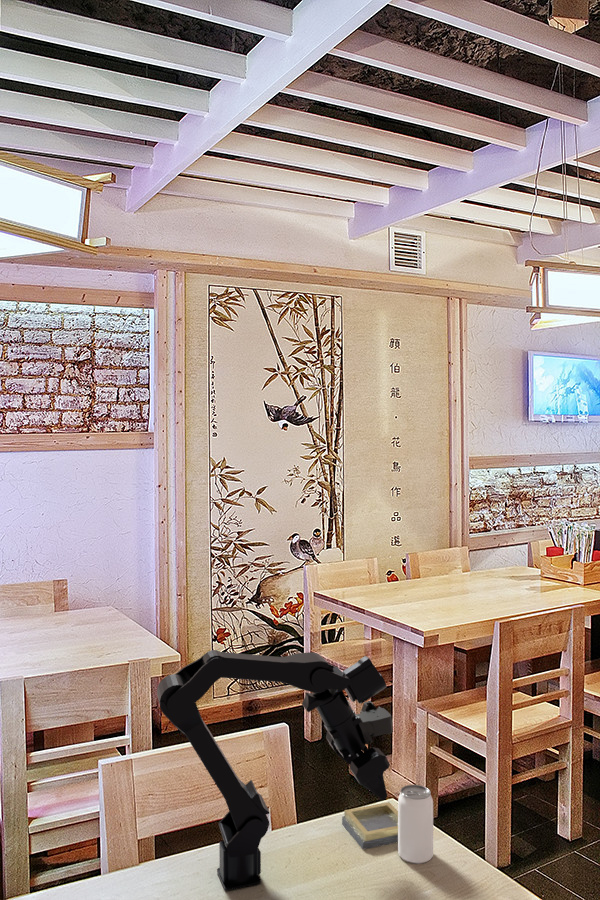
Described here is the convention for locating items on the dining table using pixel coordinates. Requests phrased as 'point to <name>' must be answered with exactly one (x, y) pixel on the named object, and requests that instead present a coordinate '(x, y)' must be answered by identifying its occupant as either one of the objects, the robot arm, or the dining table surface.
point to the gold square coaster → (372, 825)
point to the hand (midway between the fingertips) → (375, 786)
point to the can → (415, 824)
